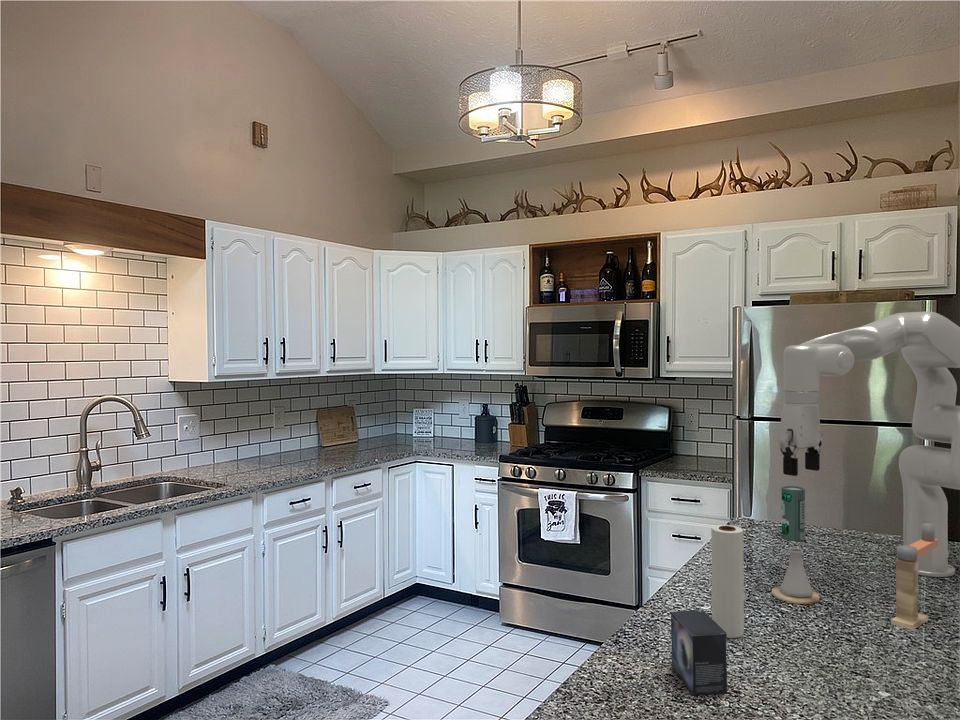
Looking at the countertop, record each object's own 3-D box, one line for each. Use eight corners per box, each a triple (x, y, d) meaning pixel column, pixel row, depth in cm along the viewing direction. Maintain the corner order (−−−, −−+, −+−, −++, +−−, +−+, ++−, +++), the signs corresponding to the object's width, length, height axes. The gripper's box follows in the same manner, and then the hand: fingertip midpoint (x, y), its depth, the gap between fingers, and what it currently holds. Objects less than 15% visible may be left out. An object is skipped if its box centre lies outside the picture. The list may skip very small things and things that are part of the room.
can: (784, 534, 212) (784, 485, 212) (806, 537, 209) (806, 487, 208) (780, 539, 207) (779, 488, 207) (802, 542, 204) (802, 491, 203)
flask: (817, 599, 157) (817, 555, 156) (782, 597, 158) (782, 553, 158) (808, 588, 164) (808, 545, 164) (776, 586, 165) (775, 544, 165)
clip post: (907, 614, 149) (907, 554, 149) (928, 620, 146) (928, 558, 146) (890, 624, 145) (890, 561, 144) (912, 630, 141) (912, 566, 141)
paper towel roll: (728, 641, 137) (728, 533, 137) (705, 630, 143) (704, 526, 142) (754, 634, 141) (754, 528, 140) (731, 623, 146) (730, 521, 146)
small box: (668, 667, 127) (668, 610, 127) (703, 665, 128) (703, 608, 127) (691, 696, 117) (690, 634, 116) (729, 694, 117) (728, 632, 117)
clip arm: (940, 546, 153) (940, 524, 153) (913, 562, 143) (913, 537, 143) (922, 543, 156) (922, 521, 156) (894, 558, 146) (894, 534, 146)
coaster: (786, 585, 168) (786, 582, 168) (827, 597, 160) (827, 594, 160) (763, 595, 162) (763, 592, 162) (805, 608, 154) (805, 604, 154)
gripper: (804, 395, 170) (805, 466, 170) (765, 400, 159) (766, 474, 160) (836, 397, 164) (836, 470, 164) (797, 401, 153) (797, 479, 154)
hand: (801, 472), depth 162 cm, fingers open, 9 cm apart
